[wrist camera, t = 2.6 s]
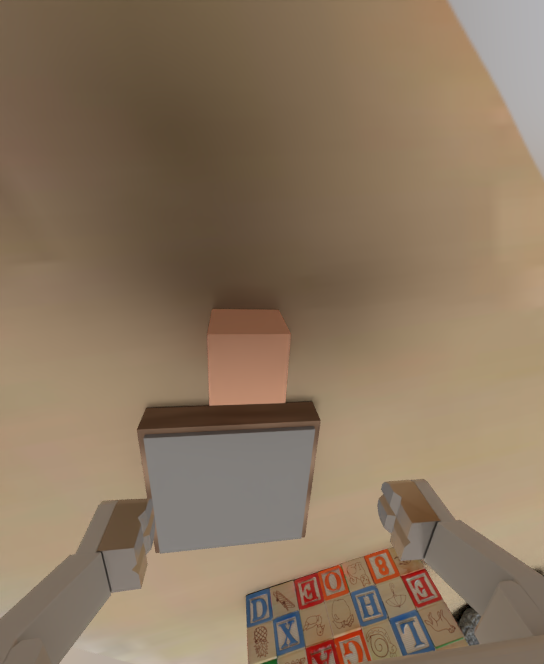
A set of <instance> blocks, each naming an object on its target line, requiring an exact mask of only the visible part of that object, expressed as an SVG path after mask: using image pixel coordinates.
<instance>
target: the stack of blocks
mask: <svg viewBox="0 0 544 664" xmlns="http://www.w3.org/2000/svg"><path fill="white" fill-rule="evenodd" d="M246 615H247V646H248V664H353V663H359V662H366V661H372V660H379V659H386V658H392V657H399V656H406V655H412V654H419V653H425V652H432V651H439V650H445V649H452V648H458V647H465V646H469V645H468V643H467V642H466V639H465V637H464V635H463V633H462V631H461V630H460V628H459V627H458V625H457V622H456V621H455V619H454V618H453V616H452V614H451V612H450V610H449V608H448V607H447V605H446V603H445V602H444V601H443V598H442V597H441V595H440V593H439V591H438V590H437V588H436V586H435V584H434V583H433V581H432V579H431V578H430V576H429V574H428V572H427V571H426V569H425V567H424V565H423V563H422V561H421V560H406V561H400V559H399V557H398V555H397V553H396V551H395V549H394V547H393V548H390V549H385V550H382V551H379V552H376V553H373V554H370V555H367V556H364V557H360V558H357V559H354V560H351V561H348V562H345V563H342V564H341V565H337V566H335V567H332V568H328V569H326V570H323V571H320V572H318V573H314V574H311V575H308V576H305V577H302V578H299V579H296V580H294V581H293V580H292V581H289V582H286V583H283V584H280V585H277V586H274V587H271V588H268V589H265V590H262V591H259V592H256V593H253V594H250V595H247V596H246Z"/></svg>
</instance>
